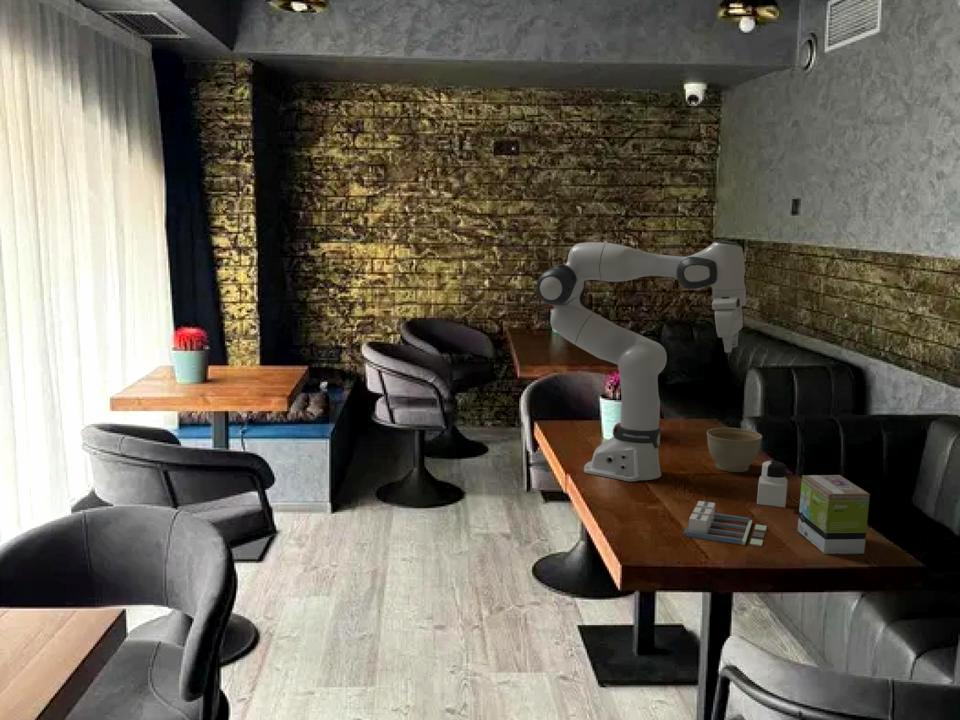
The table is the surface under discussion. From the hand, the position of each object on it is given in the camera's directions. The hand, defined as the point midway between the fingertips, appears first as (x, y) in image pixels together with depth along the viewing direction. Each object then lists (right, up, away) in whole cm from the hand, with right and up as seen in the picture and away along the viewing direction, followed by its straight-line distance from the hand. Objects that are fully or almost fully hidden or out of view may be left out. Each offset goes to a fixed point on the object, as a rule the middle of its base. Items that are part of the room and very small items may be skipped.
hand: (731, 349), depth 255 cm
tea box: (+13, -46, -38) cm, 61 cm away
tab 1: (-14, -42, -28) cm, 53 cm away
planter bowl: (+7, -36, +25) cm, 45 cm away
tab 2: (-18, -44, -38) cm, 61 cm away
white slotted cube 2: (-16, -43, -33) cm, 57 cm away
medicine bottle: (+7, -42, -11) cm, 44 cm away
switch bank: (-13, -45, -34) cm, 58 cm away
